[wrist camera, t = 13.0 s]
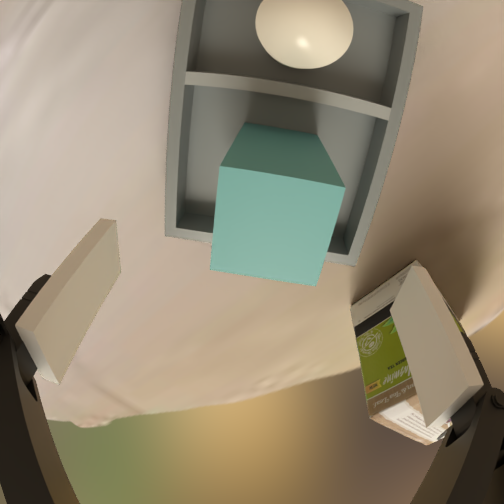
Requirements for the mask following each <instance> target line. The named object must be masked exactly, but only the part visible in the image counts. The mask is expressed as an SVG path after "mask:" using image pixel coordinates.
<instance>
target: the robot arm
mask: <svg viewBox="0 0 504 504" xmlns="http://www.w3.org/2000/svg"><path fill="white" fill-rule="evenodd" d="M120 273H121V266H120V257H119V248H118V237H117V226H116V220H109V219H100V220H99V221H98V222H97V223H96V224H95V225H94V226H93V228H92V229H91V230H90V231H89V232H88V233H87V234H86V235H85V237H84V238H83V239H82V240H81V241H80V242H79V243H78V245H77V246H76V247H75V248H74V249H73V250H72V252H71V253H70V254H69V255H68V256H67V257H66V259H65V260H64V261H63V262H62V264H61V265H60V266H59V267H58V268H57V270H56V271H55V272H54V273H53V275H52V276H51V275H47V274H45V275H43V276H42V277H40V278H39V279H37V280H36V281H35V282H34V283H33V284H32V285H31V287H30V288H29V289H28V292H26V293H25V294H24V295H23V297H22V300H21V299H20V301H19V302H18V303H17V305H16V306H15V307H14V309H13V310H12V311H11V313H10V314H9V315H8V317H7V318H6V320H5V321H3V318H2V316H1V314H0V484H1V487H2V490H3V493H4V496H5V499H6V502H7V504H80V503H79V501H78V499H77V497H76V495H75V493H74V490H73V488H72V486H71V484H70V482H69V479H68V477H67V474H66V472H65V470H64V467H63V465H62V462H61V460H60V457H59V455H58V452H57V449H56V447H55V444H54V441H53V438H52V435H51V432H50V429H49V426H48V423H47V420H46V417H45V413H44V410H43V406H42V403H41V399H40V396H39V392H38V388H37V384H36V381H35V379H34V377H33V376H34V374H35V372H36V370H37V369H38V371H39V373H40V375H41V376H42V378H43V379H45V380H48V381H50V382H53V383H56V384H59V385H60V383H61V381H62V379H63V377H64V375H65V373H66V371H67V369H68V367H69V365H70V363H71V361H72V359H73V357H74V355H75V353H76V351H77V349H78V347H79V345H80V344H81V342H82V340H83V338H84V336H85V334H86V332H87V330H88V329H89V327H90V325H91V323H92V321H93V319H94V318H95V316H96V314H97V312H98V311H99V309H100V307H101V305H102V304H103V302H104V300H105V298H106V297H107V295H108V293H109V291H110V290H111V288H112V286H113V285H114V283H115V281H116V280H117V278H118V276H119V275H120ZM390 313H391V315H392V318H393V321H394V324H395V326H396V329H397V332H398V335H399V338H400V341H401V344H402V347H403V350H404V353H405V356H406V359H407V362H408V365H409V369H410V372H411V375H412V378H413V382H414V385H415V388H416V392H417V395H418V399H419V403H420V406H421V410H422V414H423V417H424V421H425V425H426V428H432V427H440V426H442V425H443V424H444V423H446V422H447V421H448V420H449V419H450V418H451V421H452V425H451V426H450V427H449V428H448V429H446V430H445V431H444V432H443V433H442V434H441V435H439V437H438V438H437V440H440V439H441V438H442V437H443V436H445V437H444V439H443V441H442V444H441V446H440V448H439V450H438V452H437V454H436V457H435V459H434V461H433V462H432V465H431V467H430V469H429V470H428V472H427V474H426V476H425V478H424V480H423V482H422V484H421V485H420V487H419V489H418V491H417V493H416V494H415V496H414V498H413V500H412V501H411V503H410V504H504V393H503V392H502V391H501V390H500V389H497V388H492V387H491V384H490V382H489V380H488V378H487V375H486V373H485V370H484V368H483V366H482V364H481V362H480V360H479V357H478V355H477V353H476V352H475V349H474V347H473V345H472V343H471V341H470V339H469V338H468V337H467V336H466V335H465V334H464V333H463V332H460V331H459V329H458V327H457V325H456V323H455V321H454V319H453V317H452V315H451V313H450V311H449V309H448V307H447V306H446V304H445V302H444V300H443V298H442V296H441V295H440V293H439V291H438V289H437V287H436V286H435V284H434V282H433V280H432V279H431V277H430V275H429V273H428V272H427V270H426V268H425V267H419V266H413V265H412V266H411V268H410V270H409V272H408V275H407V277H406V279H405V281H404V283H403V285H402V287H401V289H400V291H399V293H398V295H397V297H396V299H395V301H394V303H393V305H392V307H391V309H390Z"/></svg>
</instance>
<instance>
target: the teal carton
mask: <svg viewBox="0 0 504 504" xmlns="http://www.w3.org/2000/svg"><path fill="white" fill-rule="evenodd" d="M345 189H346V187H345V185H344V183H343V181H342V179H341V177H340V176H339V174H338V172H337V170H336V168H335V166H334V164H333V162H332V160H331V159H330V157H329V155H328V153H327V151H326V149H325V147H324V146H323V144H322V142H321V140H320V139H319V137H318V135H315V134H310V133H305V132H300V131H294V130H289V129H283V128H277V127H271V126H265V125H259V124H252V123H244V125H243V126H242V128H241V130H240V131H239V133H238V135H237V136H236V138H235V140H234V142H233V143H232V145H231V147H230V149H229V150H228V152H227V154H226V156H225V157H224V159H223V161H222V163H221V164H220V168H219V177H218V186H217V196H216V207H215V217H214V228H213V239H212V251H211V263H210V270H215V271H221V272H227V273H233V274H239V275H245V276H252V277H258V278H265V279H271V280H277V281H284V282H291V283H297V284H304V285H311V286H316V285H317V282H318V279H319V276H320V273H321V269H322V266H323V263H324V260H325V257H326V254H327V250H328V247H329V244H330V241H331V237H332V234H333V231H334V227H335V224H336V221H337V217H338V214H339V210H340V207H341V203H342V200H343V196H344V192H345Z"/></svg>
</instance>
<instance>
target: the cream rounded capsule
mask: <svg viewBox="0 0 504 504" xmlns="http://www.w3.org/2000/svg"><path fill="white" fill-rule="evenodd" d="M255 24H256V32H257V35H258V38H259V40H260V42H261V44H262V45H263V47H264V48H265V50H266V52H267V53H268V54H269V55H270V57H271V58H272V59H274V60H275V61H276V62H278V63H279V64H281V65H283V66H286V67H290V68H295V69H313V68H319V67H323V66H326V65H329V64H331V63H333V62H335V61H336V60H338V59H339V58H340V57H341V56H342V55H343V54H344V53H345V52H346V51H347V49H348V47H349V46H350V43H351V41H352V37H353V21H352V17H351V14H350V12H349V10H348V8H347V7H346V5H345V4H344V2H343V1H342V0H263V1H262V2H261V4H260V6H259V8H258V10H257V14H256V21H255Z"/></svg>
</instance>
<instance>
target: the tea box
mask: <svg viewBox="0 0 504 504" xmlns="http://www.w3.org/2000/svg"><path fill="white" fill-rule="evenodd" d="M412 265H413V266H419V267H422V266H421V264H420V263H419V262H418V261H417V260H415V261H414V262H413V263H411V264H410V265H408V266H407V267H406V268H404V269H403V270H401V271H400V272H399V273H397V274H396V275H394V276H393V277H392V278H390V279H389V280H387V281H386V282H385V283H383V284H382V285H380V286H379V287H378V288H376V289H375V290H373V291H372V292H370V293H369V294H368V295H366V296H365V297H363V298H362V299H360V300H359V301H358V302H356V303H355V304H353V305H352V306H351V308H350V311H351V316H352V322H353V327H354V331H355V335H356V342H357V348H358V352H359V357H360V363H361V370H362V375H363V380H364V386H365V395H366V401H367V406H368V413H369V417H370V418H371V419H373V420H374V421H376V422H378V423H380V424H382V425H384V426H386V427H388V428H390V429H392V430H394V431H397V432H398V433H400V434H403V435H405V436H407V437H409V438H411V439H413V440H415V441H418V442H420V443H423V444H425V445H429V444H431V443H433V442H435V441H437V438H438V437H439V435H441V434H442V433H443V432H444V431H445V430H446V429H448V428H449V427H450V426H451V425H452V421H451V418H450V419H449V420H448V421H447V422H446V423H444V424H443V425H442V426H440V427H432V428H426V425H425V421H424V417H423V414H422V410H421V406H420V403H419V399H418V395H417V392H416V388H415V385H414V382H413V378H412V375H411V372H410V369H409V365H408V362H407V359H406V356H405V353H404V350H403V347H402V344H401V341H400V338H399V335H398V332H397V329H396V326H395V324H394V321H393V318H392V315H391V313H390V309H391V307H392V305H393V303H394V301H395V299H396V297H397V295H398V293H399V291H400V289H401V287H402V285H403V283H404V281H405V279H406V277H407V275H408V272H409V270H410V268H411V266H412ZM435 286H436V285H435ZM437 289H438V288H437ZM438 291H439V289H438ZM439 293H440V295H441V296H442V298H443V300H444V302H445V304H446V306H447V307H448V309H449V311H450V313H451V315H452V317H453V319H454V321H455V323H456V325H457V327H458V329H459V331H460V332H463V333H464V334H465V335H466V333H465V331H464V329H463V327H462V325H461V323H460V322H459V320H458V319H457V317H456V315H455V314H454V312H453V311H452V309H451V308H450V306H449V304H448V303H447V301H446V300H445V298H444V297H443V295H442V294H441V292H440V291H439ZM466 336H467V335H466ZM444 437H445V436H443V437H442V438H444ZM442 438H441V439H442Z"/></svg>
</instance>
